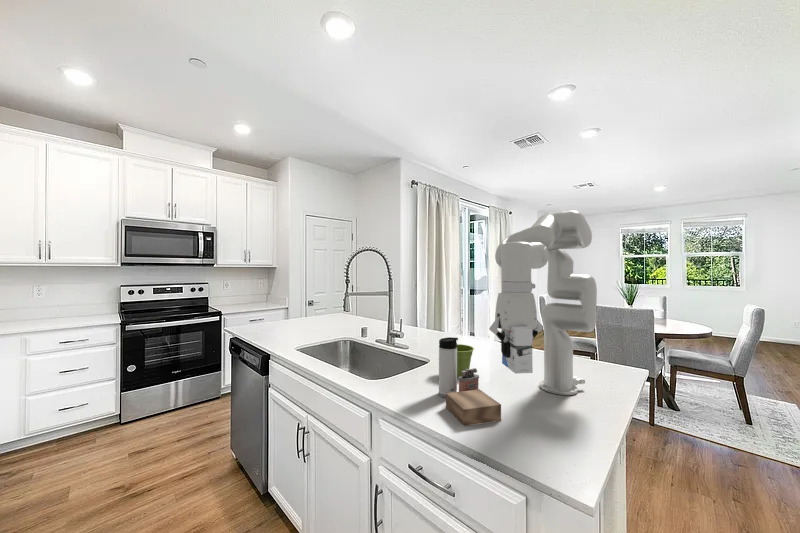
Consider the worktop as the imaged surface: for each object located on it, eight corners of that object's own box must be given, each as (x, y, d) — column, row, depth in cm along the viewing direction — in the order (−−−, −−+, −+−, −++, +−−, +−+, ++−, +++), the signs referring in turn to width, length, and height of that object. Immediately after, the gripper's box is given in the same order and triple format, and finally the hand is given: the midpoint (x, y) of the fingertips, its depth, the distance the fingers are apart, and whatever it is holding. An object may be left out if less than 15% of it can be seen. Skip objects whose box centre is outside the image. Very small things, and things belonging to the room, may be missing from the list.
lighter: (462, 402, 104) (462, 372, 104) (456, 399, 107) (456, 369, 107) (481, 398, 107) (481, 368, 107) (474, 394, 110) (474, 366, 110)
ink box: (501, 363, 88) (501, 321, 88) (518, 362, 89) (518, 321, 89) (514, 374, 80) (514, 327, 80) (533, 373, 80) (533, 327, 80)
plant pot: (440, 371, 135) (440, 345, 135) (465, 368, 139) (465, 343, 139) (453, 380, 124) (453, 352, 124) (479, 377, 128) (479, 350, 128)
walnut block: (479, 404, 103) (479, 389, 103) (501, 421, 92) (501, 404, 92) (445, 409, 100) (445, 393, 100) (463, 427, 88) (464, 409, 88)
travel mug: (457, 399, 106) (457, 340, 106) (438, 397, 108) (438, 339, 108) (457, 392, 112) (458, 336, 113) (439, 390, 114) (439, 335, 114)
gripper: (537, 286, 89) (537, 350, 89) (480, 287, 87) (480, 353, 87) (554, 288, 82) (554, 358, 82) (492, 289, 79) (492, 361, 79)
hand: (516, 355), depth 84 cm, fingers closed on ink box, 5 cm apart
